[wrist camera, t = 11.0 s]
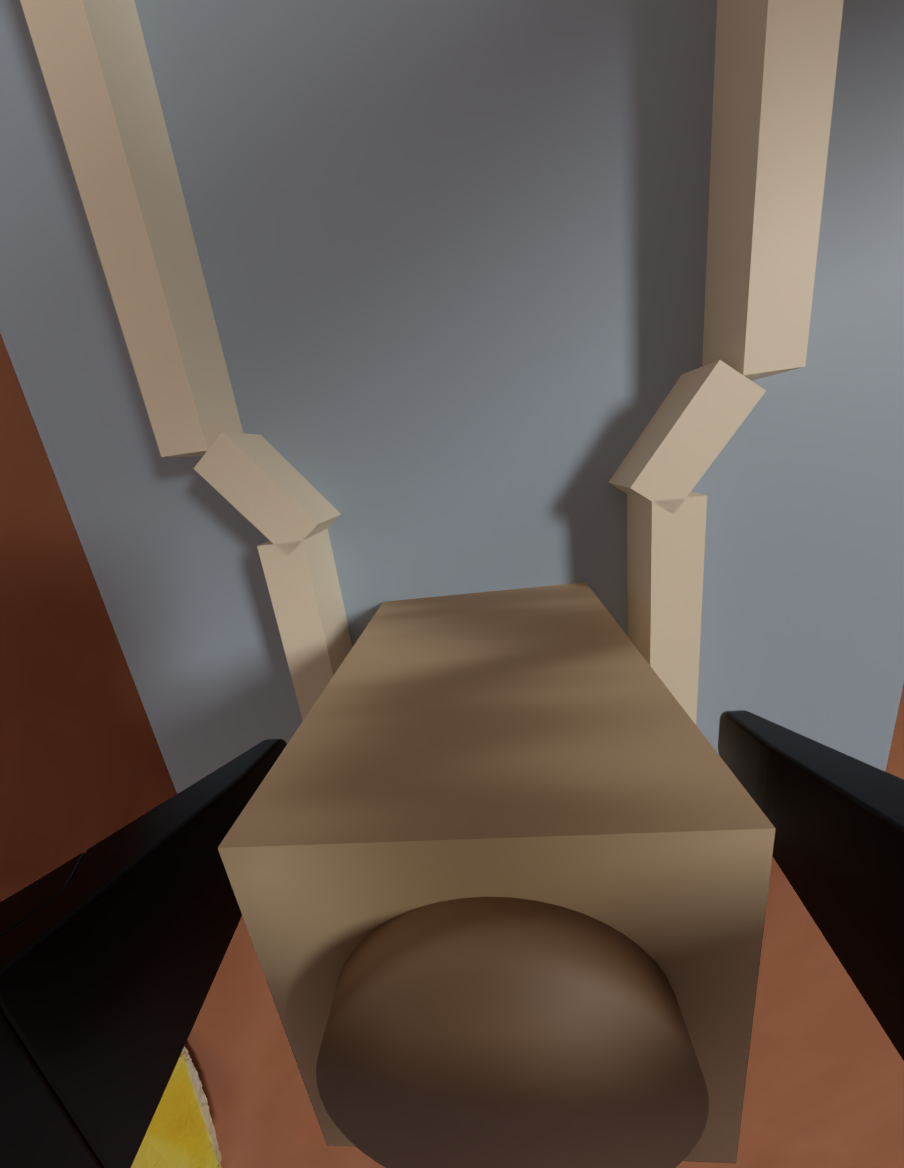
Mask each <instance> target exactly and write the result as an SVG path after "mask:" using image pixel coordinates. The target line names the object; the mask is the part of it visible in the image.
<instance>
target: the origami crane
mask: <svg viewBox="0 0 904 1168" xmlns="http://www.w3.org/2000/svg"><path fill="white" fill-rule="evenodd" d="M188 1053H189V1052H188V1050H187V1049H186V1048H185V1046H184V1048H183V1050H182V1053H181V1055H180V1057H179V1059H178V1062H177V1064H176V1066H175V1069H174V1071H173V1073H172V1075H171V1078H170V1080H169V1082H168V1084H167V1087H166V1089H165V1091H164V1094H163V1096H162V1098H161V1100H160V1103H159V1105H158V1107H157V1109H156V1112H155V1114H154V1116H153V1118H152V1121H151V1123H150V1125H149V1128H148V1130H147V1132H146V1134H145V1137H144V1139H143V1141H142V1143H141V1146H140V1148H139V1150H138V1153H137V1155H136V1157H135V1159H134V1162H133V1164H132V1166H131V1168H221V1164H220V1161H221V1159H222V1156H221V1153H220V1151H219V1150H218V1148H219V1146H218V1142H217V1140H216V1131H215V1130H214V1125H213V1124H212V1117H210V1116H211V1115H210V1112H209V1111H208V1110H209V1107H210V1106H209V1107H208V1105H207V1104H208V1101H207V1098H206V1095H204V1094H205V1093H203V1089H202V1087H203V1086H202V1084H201V1081H199V1077H198V1072H197V1071H196V1069H195V1067H194V1065H193V1063H192V1061H191V1060H192V1059H190V1056H189V1054H188Z"/></svg>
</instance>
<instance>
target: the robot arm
mask: <svg viewBox="0 0 904 1168" xmlns="http://www.w3.org/2000/svg"><path fill="white" fill-rule="evenodd" d="M286 745H287V743H286V741H285V740H283V739H267V740H264V741H262V742H260V743H259V744H257V745H255V746H254V747H252V748H251V749H249V750H247V751H246V752H244V753H242V754H241V755H239V756H238V757H236V758H234V759H233V760H231V761H230V762H228V763H226V764H225V765H223V766H222V767H220V768H218V769H217V770H215V771H213V772H212V773H210V774H209V775H207V776H205V777H204V778H202V779H201V780H199V781H197V782H196V783H194V784H192V785H191V786H189V787H188V788H186V789H184V790H183V791H181V792H180V793H178V794H176V795H175V796H173V797H172V798H170V799H168V800H167V801H165V802H163V803H162V804H160V805H159V806H157V807H155V808H154V809H152V810H151V811H149V812H147V813H146V814H144V815H143V816H141V817H139V818H138V819H136V820H134V821H133V822H131V823H130V824H128V825H126V826H125V827H123V828H122V829H120V830H118V831H117V832H115V833H113V834H112V835H110V836H109V837H107V838H105V839H104V840H102V841H101V842H99V843H97V844H96V845H94V846H93V847H91V848H89V849H88V850H87V851H86V853H81V854H79V855H78V856H76V857H75V858H73V859H71V860H70V861H68V862H67V863H65V864H63V865H62V866H60V867H58V868H57V869H55V870H54V871H52V872H50V873H49V874H47V875H45V876H44V877H42V878H40V879H39V880H37V881H35V882H34V883H32V884H30V885H29V886H27V887H25V888H24V889H22V890H21V891H19V892H17V893H15V894H14V895H12V896H10V897H9V898H7V899H5V900H3V901H2V902H0V1168H131V1166H132V1164H133V1162H134V1159H135V1157H136V1155H137V1153H138V1150H139V1148H140V1146H141V1143H142V1141H143V1139H144V1137H145V1134H146V1132H147V1130H148V1128H149V1125H150V1123H151V1121H152V1118H153V1116H154V1114H155V1112H156V1109H157V1107H158V1105H159V1103H160V1100H161V1098H162V1096H163V1094H164V1091H165V1089H166V1087H167V1084H168V1082H169V1080H170V1078H171V1075H172V1073H173V1071H174V1069H175V1066H176V1064H177V1062H178V1059H179V1057H180V1055H181V1053H182V1050H183V1048H184V1046H185V1044H186V1041H187V1039H188V1037H189V1034H190V1032H191V1030H192V1028H193V1025H194V1023H195V1021H196V1019H197V1016H198V1014H199V1012H200V1010H201V1007H202V1005H203V1003H204V1000H205V998H206V996H207V994H208V991H209V989H210V987H211V985H212V982H213V980H214V978H215V975H216V973H217V971H218V969H219V966H220V964H221V962H222V960H223V957H224V955H225V953H226V950H227V948H228V946H229V944H230V941H231V939H232V937H233V935H234V932H235V930H236V928H237V926H238V923H239V921H240V919H241V916H242V913H241V910H240V908H239V905H238V902H237V900H236V897H235V894H234V891H233V889H232V886H231V883H230V881H229V878H228V875H227V872H226V870H225V867H224V864H223V862H222V859H221V856H220V853H219V851H218V847H219V845H220V844H221V842H222V841H223V839H224V838H225V836H226V835H227V833H228V832H229V830H230V829H231V827H232V826H233V824H234V823H235V821H236V820H237V818H238V817H239V815H240V814H241V812H242V811H243V809H244V808H245V806H246V805H247V803H248V802H249V800H250V799H251V797H252V796H253V795H254V793H255V792H256V790H257V789H258V787H259V786H260V784H261V783H262V781H263V780H264V778H265V777H266V775H267V774H268V772H269V771H270V769H271V768H272V766H273V765H274V763H275V762H276V760H277V759H278V757H279V756H280V754H281V753H282V751H283V750H284V748H285V747H286ZM718 752H719V756H720V757H721V758H722V760H723V761H724V762H725V763H726V765H727V766H728V767H729V769H730V770H731V771H732V773H733V774H734V775H735V776H736V778H737V779H738V780H739V782H740V783H741V784H742V786H743V787H744V788H745V789H746V791H747V792H748V793H749V795H750V796H751V797H752V799H753V800H754V801H755V802H756V804H757V805H758V806H759V808H760V809H761V810H762V811H763V813H764V814H765V815H766V817H767V818H768V819H769V821H770V822H771V823H772V824H773V826H774V827H775V828H776V829H775V838H774V846H773V855H772V856H773V857H774V859H775V861H776V862H777V864H778V865H779V867H780V868H781V870H782V872H783V873H784V875H785V876H786V878H787V879H788V881H789V882H790V884H791V886H792V887H793V889H794V890H795V892H796V893H797V895H798V897H799V898H800V900H801V901H802V903H803V904H804V906H805V907H806V909H807V911H808V912H809V914H810V915H811V917H812V918H813V920H814V922H815V923H816V925H817V926H818V928H819V929H820V931H821V932H822V934H823V936H824V937H825V939H826V940H827V942H828V943H829V945H830V946H831V948H832V950H833V951H834V953H835V954H836V956H837V957H838V959H839V961H840V962H841V964H842V965H843V967H844V968H845V970H846V971H847V973H848V975H849V976H850V978H851V979H852V981H853V982H854V984H855V986H856V987H857V989H858V990H859V992H860V993H861V995H862V996H863V998H864V1000H865V1001H866V1003H867V1004H868V1006H869V1007H870V1009H871V1011H872V1012H873V1014H874V1015H875V1017H876V1018H877V1020H878V1021H879V1023H880V1025H881V1026H882V1028H883V1029H884V1031H885V1032H886V1034H887V1036H888V1037H889V1039H890V1040H891V1042H892V1043H893V1045H894V1046H895V1048H896V1050H897V1051H898V1053H899V1054H900V1056H901V1057H902V1059H903V1061H904V780H903V779H901V778H898V777H896V776H894V775H892V774H889V773H887V772H885V771H883V770H880V769H878V768H876V767H873V766H871V765H869V764H867V763H864V762H862V761H860V760H858V759H855V758H853V757H851V756H848V755H846V754H844V753H842V752H839V751H837V750H835V749H833V748H830V747H828V746H826V745H823V744H821V743H819V742H817V741H814V740H812V739H810V738H808V737H805V736H803V735H801V734H798V733H796V732H794V731H792V730H789V729H787V728H785V727H783V726H780V725H778V724H776V723H773V722H771V721H769V720H767V719H764V718H762V717H760V716H758V715H755V714H753V713H751V712H748V711H746V710H736V711H724V712H723V713H722V714H721V716H720V720H719V735H718Z"/></svg>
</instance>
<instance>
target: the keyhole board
mask: <svg viewBox="0 0 904 1168" xmlns="http://www.w3.org/2000/svg"><path fill="white" fill-rule="evenodd" d="M0 333H1V336H2V339H3V341H4V344H5V347H6V349H7V352H8V354H9V357H10V360H11V362H12V365H13V367H14V370H15V373H16V375H17V378H18V380H19V383H20V386H21V388H22V391H23V393H24V396H25V399H26V401H27V404H28V407H29V409H30V412H31V414H32V417H33V420H34V422H35V425H36V427H37V430H38V433H39V435H40V438H41V440H42V443H43V446H44V448H45V451H46V453H47V456H48V459H49V461H50V464H51V467H52V469H53V472H54V474H55V477H56V480H57V482H58V485H59V487H60V490H61V493H62V495H63V498H64V500H65V503H66V506H67V508H68V511H69V513H70V516H71V519H72V521H73V524H74V527H75V529H76V532H77V534H78V537H79V540H80V542H81V545H82V547H83V550H84V553H85V555H86V558H87V560H88V563H89V566H90V568H91V571H92V573H93V576H94V579H95V581H96V584H97V587H98V589H99V592H100V594H101V597H102V600H103V602H104V605H105V607H106V610H107V613H108V615H109V618H110V620H111V623H112V626H113V628H114V631H115V633H116V636H117V639H118V641H119V644H120V647H121V649H122V652H123V654H124V657H125V660H126V662H127V665H128V667H129V670H130V673H131V675H132V678H133V680H134V683H135V686H136V688H137V691H138V693H139V696H140V699H141V701H142V704H143V707H144V709H145V712H146V714H147V717H148V720H149V722H150V725H151V727H152V730H153V733H154V735H155V738H156V740H157V743H158V746H159V748H160V751H161V753H162V756H163V759H164V761H165V764H166V767H167V769H168V772H169V774H170V777H171V780H172V782H173V785H174V787H175V790H176V793H177V794H178V793H180V792H181V791H183V790H184V789H186V788H188V787H189V786H191V785H192V784H194V783H196V782H197V781H199V780H201V779H202V778H204V777H205V776H207V775H209V774H210V773H212V772H213V771H215V770H217V769H218V768H220V767H222V766H223V765H225V764H226V763H228V762H230V761H231V760H233V759H234V758H236V757H238V756H239V755H241V754H242V753H244V752H246V751H247V750H249V749H251V748H252V747H254V746H255V745H257V744H259V743H260V742H262V741H264V740H267V739H283V740H285V741H286V743H287V744H288V742H289V741H290V740H291V738H292V737H293V735H294V734H295V732H296V731H297V729H298V728H299V726H300V725H301V723H302V722H303V720H304V719H305V717H306V716H307V714H308V713H309V711H310V710H311V708H312V707H313V705H314V704H315V702H316V701H317V699H318V698H319V696H320V695H321V693H322V692H323V690H324V689H325V687H326V686H327V685H328V683H329V682H330V680H331V679H332V677H333V676H334V674H335V673H336V671H337V670H338V668H339V667H340V665H341V664H342V662H343V661H344V659H345V658H346V656H347V655H348V653H349V652H350V650H351V649H352V647H353V646H354V644H355V643H356V641H357V640H358V638H359V637H360V635H361V634H362V633H363V631H364V630H365V628H366V627H367V625H368V624H369V622H370V621H371V619H372V618H373V616H374V615H375V613H376V612H377V610H378V609H379V607H380V606H381V604H382V603H383V602H386V601H396V600H407V599H417V598H427V597H438V596H448V595H458V594H468V593H479V592H489V591H499V590H510V589H520V588H530V587H541V586H551V585H561V584H571V583H582V582H586V583H587V584H588V586H589V587H590V588H591V590H592V591H593V592H594V593H595V595H596V596H597V597H598V599H599V600H600V601H601V603H602V604H603V605H604V606H605V608H606V609H607V610H608V612H609V613H610V614H611V616H612V617H613V618H614V619H615V621H616V622H617V623H618V625H619V626H620V627H621V629H622V630H623V631H624V632H625V634H626V635H627V636H628V638H629V639H630V640H631V641H632V643H633V644H634V645H635V647H636V648H637V649H638V651H639V652H640V653H641V654H642V656H643V657H644V658H645V660H646V661H647V662H648V664H649V665H650V666H651V667H652V669H653V670H654V671H655V673H656V674H657V675H658V677H659V678H660V679H661V680H662V682H663V683H664V684H665V686H666V687H667V688H668V690H669V691H670V692H671V693H672V695H673V696H674V697H675V699H676V700H677V701H678V702H679V704H680V705H681V706H682V708H683V709H684V710H685V712H686V713H687V714H688V715H689V717H690V718H691V719H692V721H693V722H694V723H695V725H696V726H697V727H698V728H699V730H700V731H701V732H702V734H703V735H704V736H705V738H706V739H707V740H708V741H709V743H710V744H711V745H712V747H713V748H714V749H715V751H716V752H717V753H718V754H719V752H718V735H719V720H720V716H721V714H722V713H723V712H724V711H736V710H746V711H748V712H751V713H753V714H755V715H758V716H760V717H762V718H764V719H767V720H769V721H771V722H773V723H776V724H778V725H780V726H783V727H785V728H787V729H789V730H792V731H794V732H796V733H798V734H801V735H803V736H805V737H808V738H810V739H812V740H814V741H817V742H819V743H821V744H823V745H826V746H828V747H830V748H833V749H835V750H837V751H839V752H842V753H844V754H846V755H848V756H851V757H853V758H855V759H858V760H860V761H862V762H864V763H867V764H869V765H871V766H873V767H876V768H878V769H880V770H883V771H886V766H887V761H888V756H889V752H890V747H891V742H892V737H893V732H894V727H895V722H896V717H897V713H898V708H899V703H900V698H901V693H902V688H903V683H904V0H0Z"/></svg>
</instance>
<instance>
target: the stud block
mask: <svg viewBox="0 0 904 1168" xmlns="http://www.w3.org/2000/svg"><path fill="white" fill-rule="evenodd" d="M775 829H776V828H775V827H774V826H773V824H772V823H771V822H770V821H769V819H768V818H767V817H766V815H765V814H764V813H763V811H762V810H761V809H760V808H759V806H758V805H757V804H756V802H755V801H754V800H753V799H752V797H751V796H750V795H749V793H748V792H747V791H746V789H745V788H744V787H743V786H742V784H741V783H740V782H739V780H738V779H737V778H736V776H735V775H734V774H733V773H732V771H731V770H730V769H729V767H728V766H727V765H726V763H725V762H724V761H723V760H722V758H721V757H720V756H719V754H718V753H717V752H716V751H715V749H714V748H713V747H712V745H711V744H710V743H709V741H708V740H707V739H706V738H705V736H704V735H703V734H702V732H701V731H700V730H699V728H698V727H697V726H696V725H695V723H694V722H693V721H692V719H691V718H690V717H689V715H688V714H687V713H686V712H685V710H684V709H683V708H682V706H681V705H680V704H679V702H678V701H677V700H676V699H675V697H674V696H673V695H672V693H671V692H670V691H669V690H668V688H667V687H666V686H665V684H664V683H663V682H662V680H661V679H660V678H659V677H658V675H657V674H656V673H655V671H654V670H653V669H652V667H651V666H650V665H649V664H648V662H647V661H646V660H645V658H644V657H643V656H642V654H641V653H640V652H639V651H638V649H637V648H636V647H635V645H634V644H633V643H632V641H631V640H630V639H629V638H628V636H627V635H626V634H625V632H624V631H623V630H622V629H621V627H620V626H619V625H618V623H617V622H616V621H615V619H614V618H613V617H612V616H611V614H610V613H609V612H608V610H607V609H606V608H605V606H604V605H603V604H602V603H601V601H600V600H599V599H598V597H597V596H596V595H595V593H594V592H593V591H592V590H591V588H590V587H589V586H588V584H587V583H586V582H582V583H571V584H561V585H551V586H541V587H530V588H520V589H510V590H499V591H489V592H479V593H468V594H458V595H448V596H438V597H427V598H417V599H407V600H396V601H386V602H383V603H382V604H381V606H380V607H379V609H378V610H377V612H376V613H375V615H374V616H373V618H372V619H371V621H370V622H369V624H368V625H367V627H366V628H365V630H364V631H363V633H362V634H361V635H360V637H359V638H358V640H357V641H356V643H355V644H354V646H353V647H352V649H351V650H350V652H349V653H348V655H347V656H346V658H345V659H344V661H343V662H342V664H341V665H340V667H339V668H338V670H337V671H336V673H335V674H334V676H333V677H332V679H331V680H330V682H329V683H328V685H327V686H326V687H325V689H324V690H323V692H322V693H321V695H320V696H319V698H318V699H317V701H316V702H315V704H314V705H313V707H312V708H311V710H310V711H309V713H308V714H307V716H306V717H305V719H304V720H303V722H302V723H301V725H300V726H299V728H298V729H297V731H296V732H295V734H294V735H293V737H292V738H291V740H290V741H289V742H288V744H287V745H286V747H285V748H284V750H283V751H282V753H281V754H280V756H279V757H278V759H277V760H276V762H275V763H274V765H273V766H272V768H271V769H270V771H269V772H268V774H267V775H266V777H265V778H264V780H263V781H262V783H261V784H260V786H259V787H258V789H257V790H256V792H255V793H254V795H253V796H252V797H251V799H250V800H249V802H248V803H247V805H246V806H245V808H244V809H243V811H242V812H241V814H240V815H239V817H238V818H237V820H236V821H235V823H234V824H233V826H232V827H231V829H230V830H229V832H228V833H227V835H226V836H225V838H224V839H223V841H222V842H221V844H220V845H219V847H218V851H219V853H220V856H221V859H222V862H223V864H224V867H225V870H226V872H227V875H228V878H229V881H230V883H231V886H232V889H233V891H234V894H235V897H236V900H237V902H238V905H239V908H240V910H241V913H242V916H243V919H244V921H245V924H246V927H247V929H248V932H249V935H250V938H251V940H252V943H253V946H254V948H255V951H256V954H257V957H258V959H259V962H260V965H261V967H262V970H263V973H264V976H265V978H266V981H267V984H268V986H269V989H270V992H271V995H272V997H273V1000H274V1003H275V1005H276V1008H277V1011H278V1014H279V1016H280V1019H281V1022H282V1024H283V1027H284V1030H285V1033H286V1035H287V1038H288V1041H289V1043H290V1046H291V1049H292V1052H293V1054H294V1057H295V1060H296V1062H297V1065H298V1068H299V1071H300V1073H301V1076H302V1079H303V1081H304V1084H305V1087H306V1090H307V1092H308V1095H309V1098H310V1100H311V1103H312V1106H313V1109H314V1111H315V1114H316V1117H317V1119H318V1122H319V1125H320V1128H321V1130H322V1133H323V1136H324V1138H325V1141H326V1144H327V1145H328V1146H351V1147H357V1148H358V1149H360V1150H361V1151H362V1152H363V1153H365V1154H366V1155H368V1156H369V1157H370V1158H372V1159H373V1160H374V1161H376V1162H377V1163H379V1164H381V1165H382V1166H384V1167H386V1168H675V1167H676V1166H678V1165H679V1164H680V1163H681V1162H682V1161H692V1162H715V1163H736V1160H737V1151H738V1143H739V1135H740V1126H741V1118H742V1109H743V1101H744V1092H745V1084H746V1075H747V1067H748V1058H749V1050H750V1041H751V1033H752V1024H753V1016H754V1007H755V999H756V990H757V982H758V973H759V965H760V956H761V948H762V939H763V931H764V922H765V914H766V905H767V897H768V889H769V880H770V872H771V863H772V855H773V846H774V838H775Z"/></svg>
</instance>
